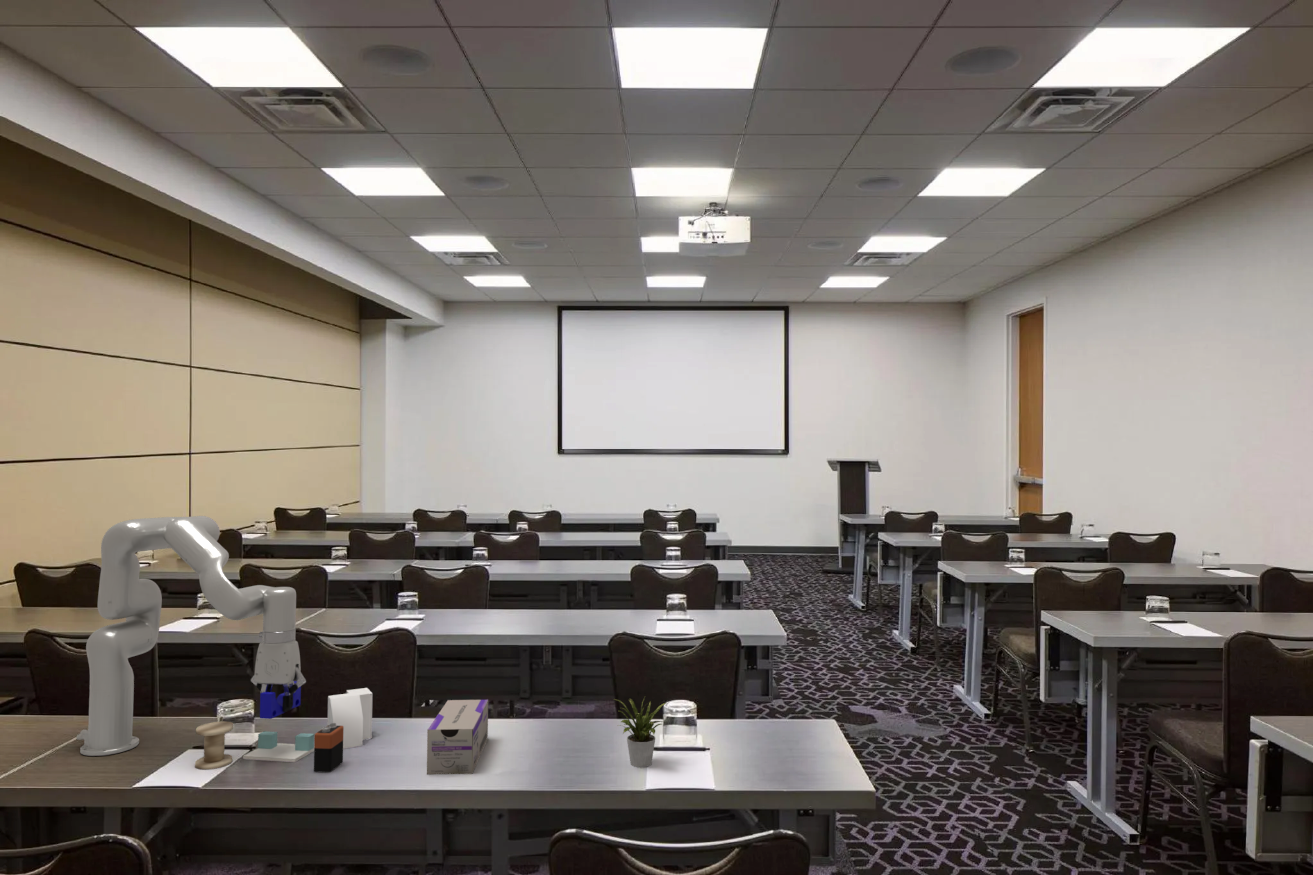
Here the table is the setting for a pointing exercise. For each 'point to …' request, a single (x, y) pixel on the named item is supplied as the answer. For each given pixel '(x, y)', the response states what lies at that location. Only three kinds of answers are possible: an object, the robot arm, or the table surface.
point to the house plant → (640, 735)
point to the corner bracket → (352, 715)
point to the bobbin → (214, 745)
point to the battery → (328, 748)
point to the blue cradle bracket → (276, 703)
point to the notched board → (281, 748)
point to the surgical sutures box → (457, 737)
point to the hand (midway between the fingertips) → (277, 709)
